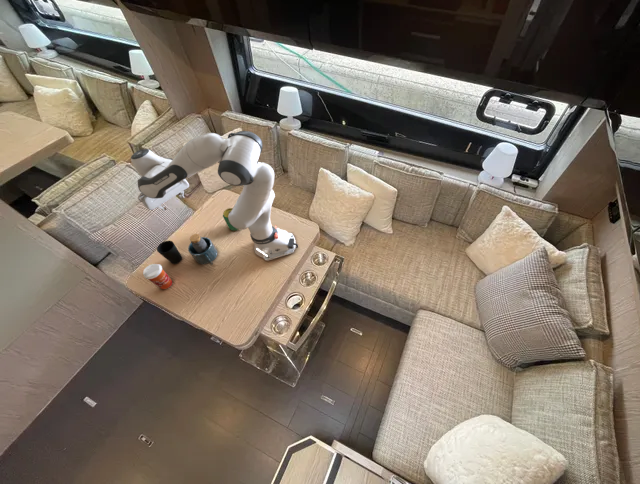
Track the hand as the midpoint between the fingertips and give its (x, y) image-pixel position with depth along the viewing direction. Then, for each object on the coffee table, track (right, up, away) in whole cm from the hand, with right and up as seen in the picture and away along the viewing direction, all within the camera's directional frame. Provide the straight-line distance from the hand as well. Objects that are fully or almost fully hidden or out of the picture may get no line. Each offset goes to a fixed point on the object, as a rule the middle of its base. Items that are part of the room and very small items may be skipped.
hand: (173, 203), depth 132 cm
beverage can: (+17, -12, +30) cm, 36 cm away
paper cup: (-7, -40, +5) cm, 41 cm away
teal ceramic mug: (+8, -28, +15) cm, 33 cm away
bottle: (+7, -26, +16) cm, 31 cm away
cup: (-8, -29, +14) cm, 33 cm away
